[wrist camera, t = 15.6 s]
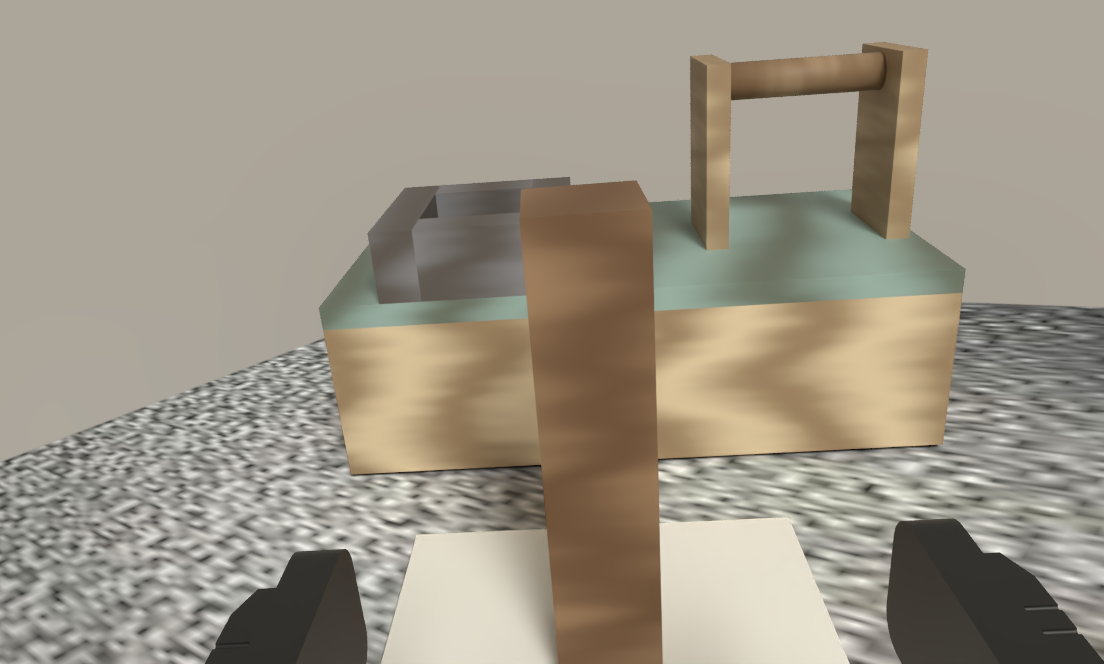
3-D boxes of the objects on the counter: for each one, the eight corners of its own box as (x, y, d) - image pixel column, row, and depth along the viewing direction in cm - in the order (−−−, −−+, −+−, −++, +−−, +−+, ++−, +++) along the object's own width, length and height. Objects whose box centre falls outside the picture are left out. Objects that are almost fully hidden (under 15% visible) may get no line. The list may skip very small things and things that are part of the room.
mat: (336, 853, 20) (332, 836, 20) (418, 547, 31) (416, 534, 31) (911, 836, 20) (914, 819, 19) (787, 530, 31) (788, 517, 30)
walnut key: (560, 685, 24) (519, 218, 18) (557, 613, 27) (521, 189, 21) (663, 678, 24) (651, 208, 18) (649, 606, 27) (636, 180, 21)
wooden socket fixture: (351, 474, 36) (280, 107, 30) (407, 347, 49) (366, 72, 43) (942, 444, 35) (993, 56, 29) (842, 322, 48) (863, 36, 42)
